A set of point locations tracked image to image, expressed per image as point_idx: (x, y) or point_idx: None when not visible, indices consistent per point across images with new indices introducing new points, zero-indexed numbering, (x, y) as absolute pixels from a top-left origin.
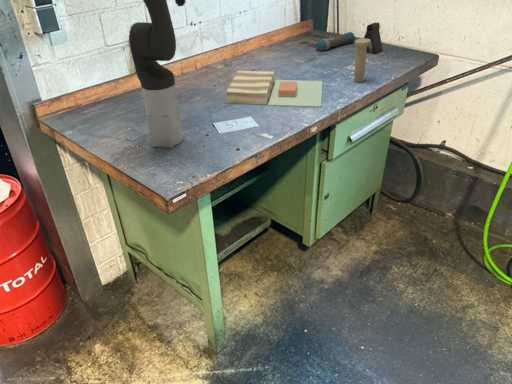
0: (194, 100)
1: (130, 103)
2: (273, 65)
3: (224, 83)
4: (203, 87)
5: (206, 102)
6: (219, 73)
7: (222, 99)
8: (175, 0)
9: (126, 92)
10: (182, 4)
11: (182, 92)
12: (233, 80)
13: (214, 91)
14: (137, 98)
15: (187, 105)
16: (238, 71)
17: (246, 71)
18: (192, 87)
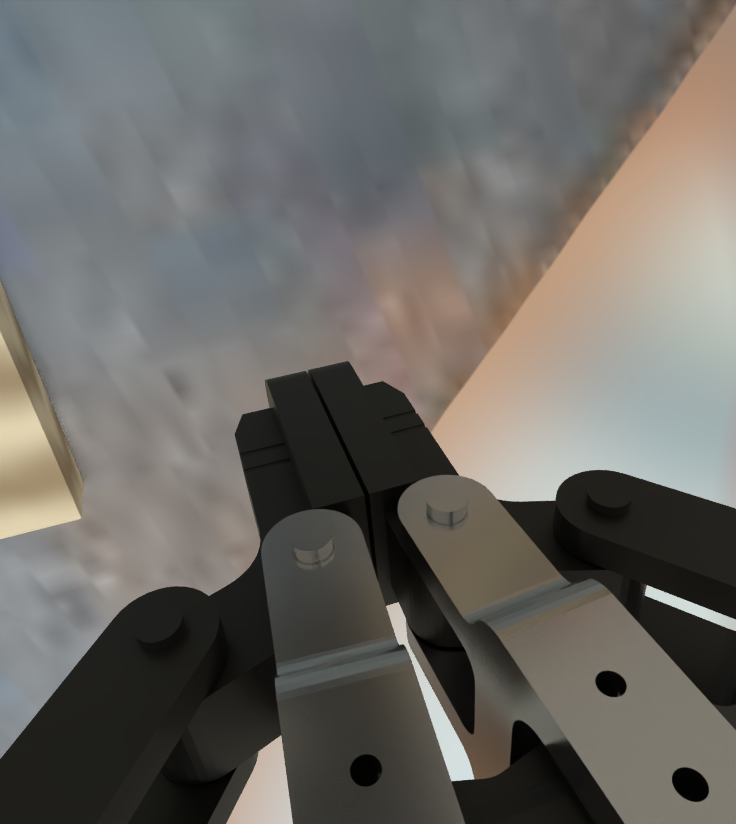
0: (190, 157)
1: (544, 23)
2: (15, 695)
3: (143, 431)
4: (232, 350)
5: (97, 143)
6: (237, 530)
7: (20, 215)
8: (407, 410)
9: (608, 176)
10: (271, 409)
11: (316, 254)
12: (17, 386)
13: (140, 316)
14: (528, 107)
15: (194, 66)
16: (73, 513)
17: (24, 527)
18: (292, 333)
